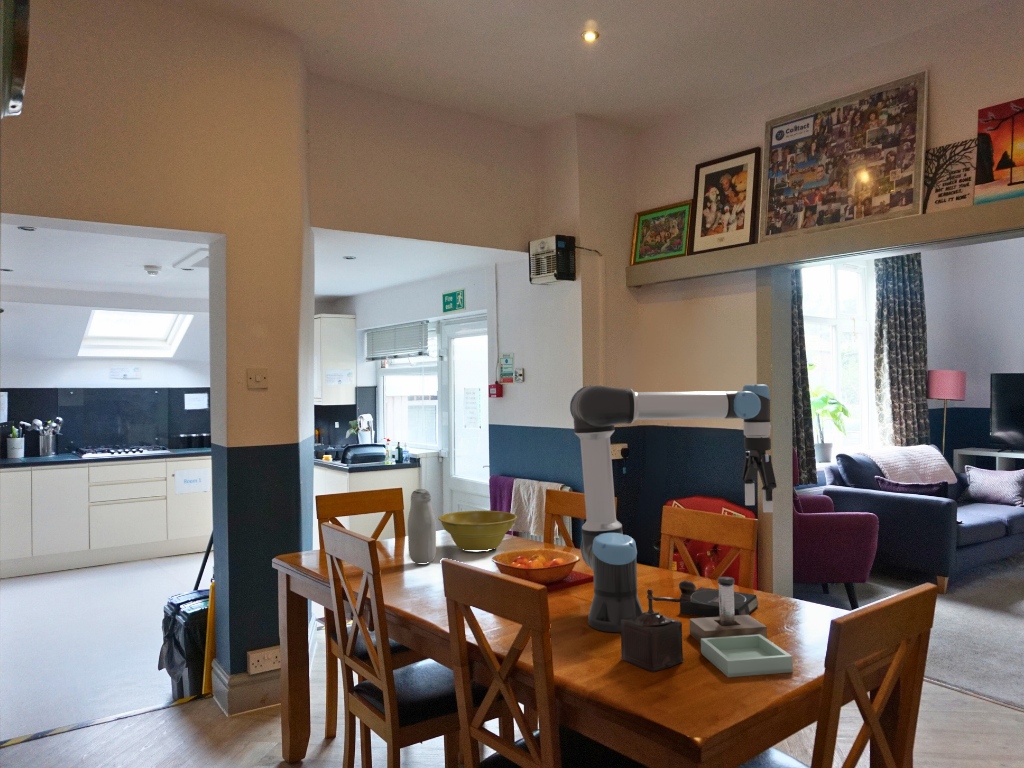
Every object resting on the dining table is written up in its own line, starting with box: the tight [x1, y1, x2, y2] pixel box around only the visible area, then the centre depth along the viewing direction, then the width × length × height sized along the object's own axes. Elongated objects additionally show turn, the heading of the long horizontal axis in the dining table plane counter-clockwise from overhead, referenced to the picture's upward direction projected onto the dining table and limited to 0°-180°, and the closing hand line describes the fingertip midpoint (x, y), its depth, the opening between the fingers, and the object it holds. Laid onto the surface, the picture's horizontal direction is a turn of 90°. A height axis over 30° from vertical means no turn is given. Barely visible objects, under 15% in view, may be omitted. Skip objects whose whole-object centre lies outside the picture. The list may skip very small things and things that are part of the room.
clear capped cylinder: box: [717, 576, 735, 626], centre depth 183 cm, size 4×4×15 cm
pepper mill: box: [620, 580, 697, 673], centre depth 170 cm, size 16×11×18 cm
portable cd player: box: [679, 586, 759, 618], centre depth 207 cm, size 16×17×4 cm
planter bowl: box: [438, 510, 518, 550], centre depth 297 cm, size 32×32×13 cm
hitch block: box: [688, 614, 768, 644], centre depth 183 cm, size 16×10×4 cm, turn 98°
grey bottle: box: [407, 488, 437, 564], centre depth 273 cm, size 10×10×28 cm
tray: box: [700, 634, 794, 678], centre depth 167 cm, size 15×15×4 cm
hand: (758, 508), depth 215 cm, fingers open, 13 cm apart
